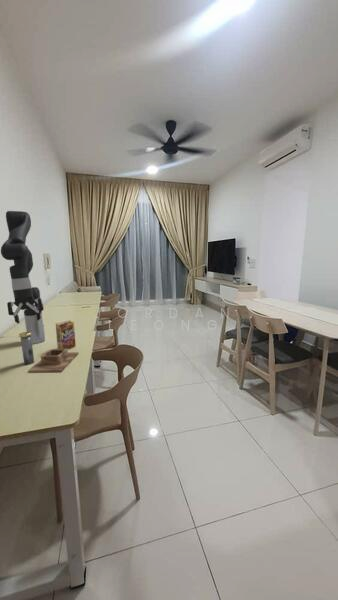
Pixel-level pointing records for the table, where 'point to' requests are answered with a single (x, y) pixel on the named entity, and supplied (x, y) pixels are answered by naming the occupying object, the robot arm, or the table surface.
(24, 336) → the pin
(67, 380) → the table surface
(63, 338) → the candy box
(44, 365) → the socket block
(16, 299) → the robot arm
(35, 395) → the table surface
